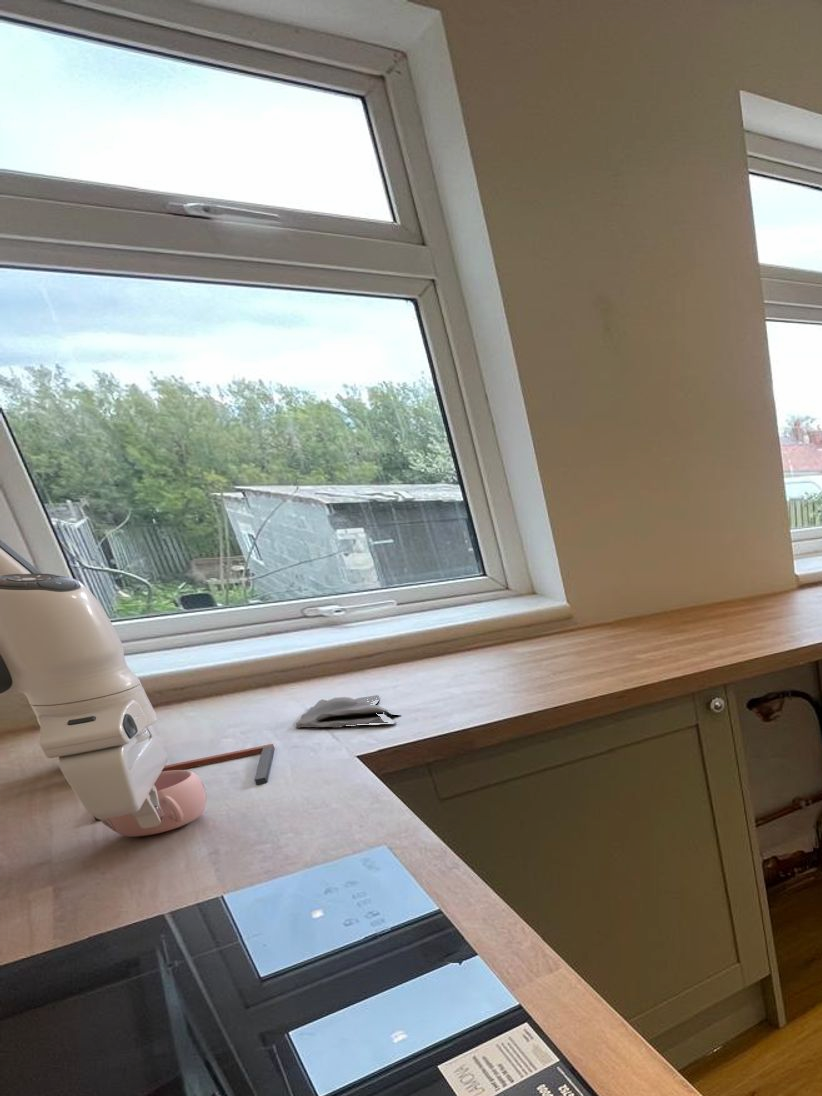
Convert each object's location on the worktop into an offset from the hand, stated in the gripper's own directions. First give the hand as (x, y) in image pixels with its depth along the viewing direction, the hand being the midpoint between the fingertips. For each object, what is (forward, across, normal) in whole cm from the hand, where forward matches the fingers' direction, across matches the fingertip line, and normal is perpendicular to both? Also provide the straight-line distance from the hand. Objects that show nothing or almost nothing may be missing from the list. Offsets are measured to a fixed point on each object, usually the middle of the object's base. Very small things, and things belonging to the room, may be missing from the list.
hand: (153, 823), depth 98 cm
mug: (+3, -6, 0) cm, 7 cm away
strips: (+3, -24, 0) cm, 24 cm away
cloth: (+3, -44, +18) cm, 48 cm away
